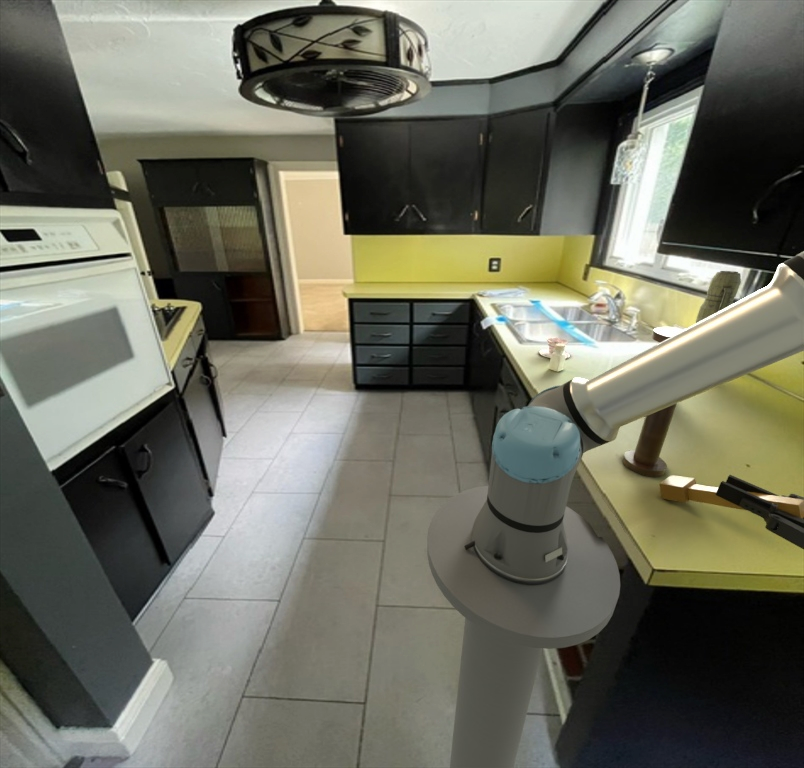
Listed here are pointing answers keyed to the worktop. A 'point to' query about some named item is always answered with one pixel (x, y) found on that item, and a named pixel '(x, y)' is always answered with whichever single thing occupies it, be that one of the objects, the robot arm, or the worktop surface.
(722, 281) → the greenish-grey tall rounded piece
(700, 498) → the wooden t-shaped block
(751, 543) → the worktop surface
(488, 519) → the robot arm
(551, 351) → the teacup
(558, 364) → the pepper shaker
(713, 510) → the worktop surface
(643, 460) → the dark brown spool
